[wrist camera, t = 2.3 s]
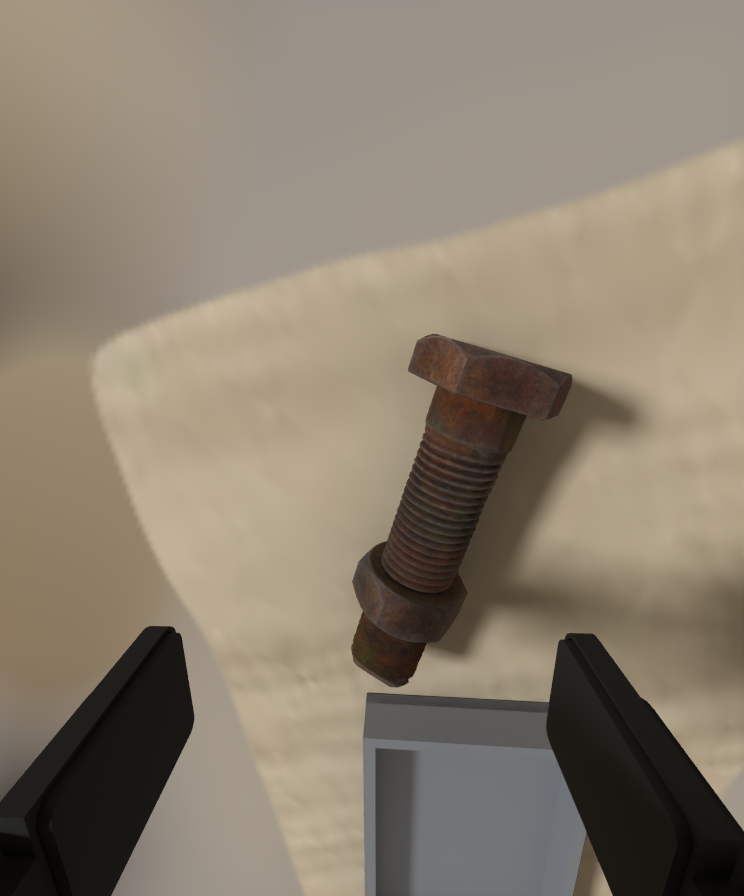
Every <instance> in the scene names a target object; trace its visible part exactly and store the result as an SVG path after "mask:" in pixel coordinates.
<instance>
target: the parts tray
mask: <svg viewBox="0 0 744 896" xmlns="http://www.w3.org/2000/svg"><path fill="white" fill-rule="evenodd" d="M548 708H549V703H541V702H523V701H504V700H486V699H467V698H449V697H431V696H412V695H394V694H375V693H367V699H366V711H365V723H364V734H363V765H364V845H365V896H573V892H574V888H575V883H576V878H577V874H578V869H579V865H580V860H581V855H582V851H583V846H584V842H585V837H586V829H585V827H584V825H583V822H582V820H581V817H580V815H579V813H578V810H577V808H576V805H575V803H574V801H573V798H572V796H571V793H570V791H569V789H568V786H567V784H566V781H565V779H564V777H563V774H562V772H561V769H560V767H559V764H558V762H557V760H556V757H555V755H554V752H553V750H552V748H551V745H550V743H549V740H548V736H547V731H546V721H547V714H548Z"/></svg>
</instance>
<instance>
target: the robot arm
mask: <svg viewBox="0 0 744 896" xmlns="http://www.w3.org/2000/svg"><path fill="white" fill-rule="evenodd" d="M193 723H194V711H193V705H192V699H191V692H190V687H189V680H188V675H187V668H186V662H185V655H184V649H183V643H182V637H181V635H180V633H176V631H175V629H174V628H173V627H169V626H165V627H164V626H149V627H147V628H145V629H144V630H143V631H142V633H141V634H140V635H139V636H138V637H137V639H136V640H135V641H134V642H133V643H132V645H131V646H130V647H129V648H128V649H127V651H126V652H125V653H124V654H123V655H122V657H121V658H120V659H119V661H118V662H117V663H116V664H115V665H114V666H113V668H112V669H111V670H110V671H109V672H108V674H107V675H106V676H105V677H104V679H103V680H102V681H101V682H100V683H99V685H98V686H97V687H96V688H95V689H94V691H93V692H92V693H91V694H90V695H89V696H88V697H87V698H86V699H85V701H84V702H83V703H82V704H81V705H80V707H79V708H78V709H77V710H76V711H75V713H74V714H73V715H72V716H71V717H70V719H69V720H68V721H67V722H66V723H65V725H64V726H63V727H62V728H61V729H60V731H59V732H58V733H57V734H56V735H55V737H54V738H53V739H52V741H50V743H49V744H48V745H47V746H46V747H45V749H44V750H43V751H42V752H41V754H40V755H39V756H38V757H37V758H36V760H35V761H34V762H33V763H32V764H31V766H30V767H29V768H28V769H27V771H26V772H25V773H24V774H23V775H22V776H21V778H20V779H19V780H18V781H17V782H16V784H15V785H14V786H13V787H12V789H11V790H10V791H9V792H8V793H7V795H6V796H5V797H4V798H3V799H2V800H1V802H0V896H111V895H112V892H113V891H114V889H115V887H116V885H117V882H118V880H119V878H120V876H121V874H122V872H123V870H124V868H125V866H126V864H127V862H128V860H129V858H130V856H131V854H132V852H133V850H134V848H135V846H136V844H137V842H138V840H139V838H140V836H141V834H142V831H143V829H144V827H145V825H146V823H147V821H148V819H149V817H150V815H151V813H152V811H153V809H154V807H155V805H156V803H157V801H158V799H159V797H160V795H161V793H162V791H163V788H164V786H165V785H166V783H167V780H168V778H169V776H170V774H171V772H172V770H173V768H174V766H175V764H176V762H177V760H178V758H179V756H180V754H181V752H182V750H183V748H184V746H185V744H186V742H187V739H188V738H189V735H190V733H191V731H192V728H193ZM546 731H547V736H548V740H549V743H550V745H551V748H552V750H553V752H554V755H555V757H556V760H557V762H558V764H559V767H560V769H561V772H562V774H563V777H564V779H565V781H566V784H567V786H568V789H569V791H570V793H571V796H572V798H573V801H574V803H575V805H576V808H577V810H578V813H579V815H580V817H581V820H582V822H583V825H584V827H585V829H586V832H587V834H588V837H589V839H590V842H591V844H592V846H593V849H594V851H595V854H596V856H597V858H598V861H599V863H600V866H601V868H602V870H603V873H604V875H605V878H606V880H607V882H608V885H609V887H610V890H611V892H612V894H613V896H744V831H743V830H742V828H741V827H740V826H739V824H738V823H737V821H736V820H735V819H734V817H733V816H732V815H731V813H730V812H729V811H728V809H727V808H726V807H725V805H724V804H723V803H722V801H721V800H720V798H719V797H718V796H717V794H716V793H715V792H714V790H713V789H712V788H711V786H710V785H709V783H708V782H707V781H706V779H705V778H704V777H703V775H702V774H701V773H700V771H699V770H698V769H697V767H696V766H695V764H694V763H693V762H692V760H691V759H690V758H689V756H688V755H687V754H686V752H685V751H684V750H683V748H682V747H681V745H680V744H679V743H678V741H677V740H676V739H675V737H674V736H673V735H672V733H671V732H670V731H669V729H668V728H667V726H666V725H665V724H664V722H663V721H662V720H661V718H660V717H659V716H658V714H657V713H656V712H655V710H654V709H653V708H652V707H651V705H650V704H649V703H648V702H647V701H645V700H644V699H642V698H641V697H640V696H639V695H638V693H637V692H636V691H635V689H634V688H633V686H632V685H631V684H630V682H629V681H628V680H627V678H626V677H625V675H624V674H623V673H622V671H621V670H620V668H619V667H618V666H617V664H616V663H615V662H614V660H613V659H612V657H611V656H610V655H609V653H608V652H607V651H606V649H605V648H604V646H603V645H602V644H601V642H600V641H599V639H598V638H597V637H596V636H595V635H593V634H581V633H569V634H567V635H566V636H565V640H560V641H559V643H558V649H557V655H556V662H555V669H554V675H553V682H552V688H551V695H550V701H549V708H548V714H547V721H546Z"/></svg>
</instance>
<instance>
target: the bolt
mask: <svg viewBox="0 0 744 896" xmlns="http://www.w3.org/2000/svg"><path fill="white" fill-rule="evenodd" d="M408 371H409V372H411V373H413V374H415V375H417V376H419V377H421V378H423V379H425V380H427V381H429V382H431V383H433V384H435V385H437V387H436V390H435V393H434V396H433V399H432V402H431V405H430V408H429V411H428V414H427V417H426V427H425V432H426V433H424V434H423V440H422V441H421V442H420V448H419V450H418V451H417V456H416V458H415V459H414V461H415V463H414V464H413V466H412V471H411V472H410V474H409V477H410V478H409V479H408V480H407V483H406V485H407V486H405V489H404V493H403V495H402V500H401V501H400V506H399V507H398V509H397V514H396V516H395V520H394V522H393V526H392V528H391V533H390V534H389V538H388V540H387V542H383V543H380V544H378V545H376V546H375V547H373V548H372V549H371V550H370V551H369V552H367V553H366V554H365V556H364V557H363V558H362V559H361V560H360V561H359V562H358V565H357V569H356V572H355V575H354V578H353V581H352V582H353V586H354V590H355V593H356V597H357V599H358V601H359V604H360V606H361V608H362V610H363V613H362V615H361V619H360V621H359V625H358V627H357V631H356V633H355V635H354V639H353V644H352V648H351V650H352V655H353V661H354V663H355V664H356V665H357V666H358V667H360V668H361V669H363V670H364V671H366V672H367V673H369V674H370V675H372V676H374V677H375V678H377V679H378V680H380V681H381V682H383V683H385V684H386V685H388V686H389V687H400V686H403V685H405V684H406V683H408V682H409V681H408V679H409V678H411V677H412V676H413V675H414V673H415V671H416V668H417V665H418V662H419V660H420V658H421V656H422V653H423V651H424V648H425V645H426V644H427V642H437V641H439V640H440V639H441V638H442V636H443V635H444V634H445V633H446V631H447V630H448V628H449V627H450V625H451V624H452V623H453V621H454V619H455V618H456V616H457V614H458V613H459V611H460V609H461V606H462V604H463V602H464V599H465V597H466V595H467V591H466V588H465V586H464V584H463V582H462V580H461V578H460V576H459V575H458V573H457V571H458V568H459V566H460V564H461V561H462V559H463V557H464V553H465V552H466V549H467V546H468V545H469V542H470V539H471V538H472V534H473V532H474V531H475V527H476V524H477V523H478V520H479V516H480V514H481V510H482V509H483V506H484V503H485V502H486V500H487V498H488V495H489V493H490V492H491V488H492V486H493V485H494V483H495V481H494V480H495V479H496V478H497V477H498V472H499V471H500V469H501V467H502V466H501V464H502V463H503V462H504V460H505V458H506V455H507V453H508V452H509V451H511V450H512V447H513V445H514V443H515V441H516V438H517V436H518V434H519V431H520V429H521V427H522V424H523V422H524V420H525V418H526V416H530V417H533V418H537V419H540V420H547V419H550V418H552V417H555V416H557V415H558V414H559V412H560V410H561V408H562V405H563V403H564V401H565V399H566V396H567V394H568V392H569V390H570V387H571V383H572V375H571V374H568V373H565V372H561V371H558V370H555V369H551V368H548V367H544V366H541V365H538V364H534V363H531V362H528V361H524V360H521V359H518V358H515V357H511V356H508V355H504V354H501V353H498V352H494V351H491V350H487V349H484V348H481V347H477V346H474V345H470V344H467V343H464V342H460V341H457V340H453V339H450V338H447V337H444V336H440V335H438V334H431V335H428V336H425V337H423V338H422V339H420V340H418V341H417V343H416V346H415V349H414V352H413V356H412V359H411V362H410V365H409V368H408Z"/></svg>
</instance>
